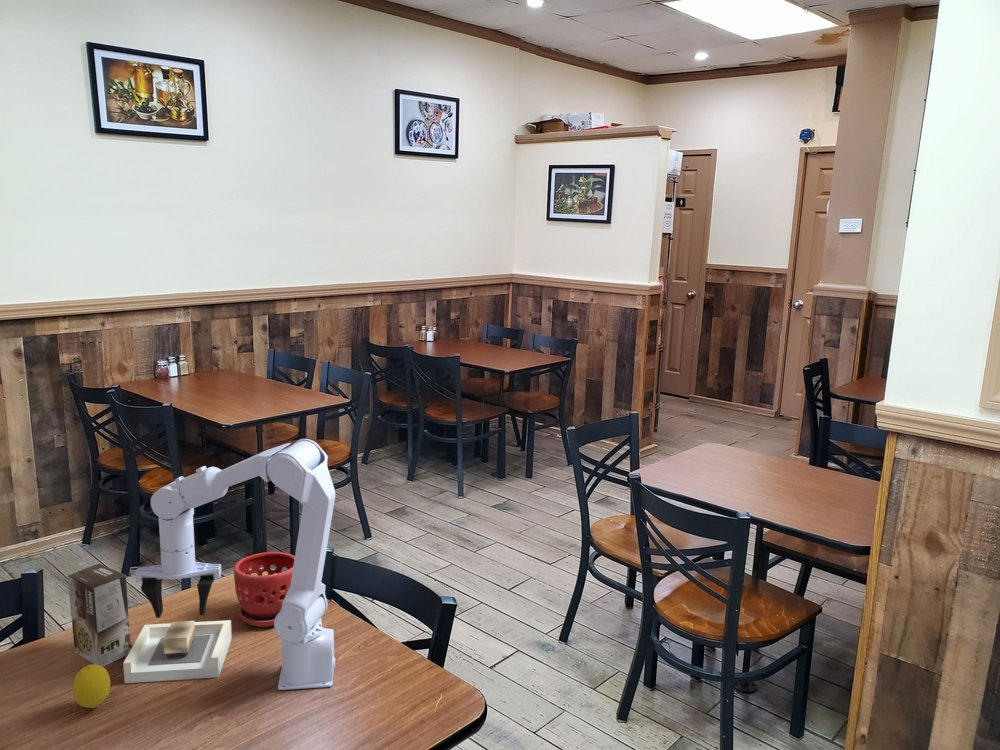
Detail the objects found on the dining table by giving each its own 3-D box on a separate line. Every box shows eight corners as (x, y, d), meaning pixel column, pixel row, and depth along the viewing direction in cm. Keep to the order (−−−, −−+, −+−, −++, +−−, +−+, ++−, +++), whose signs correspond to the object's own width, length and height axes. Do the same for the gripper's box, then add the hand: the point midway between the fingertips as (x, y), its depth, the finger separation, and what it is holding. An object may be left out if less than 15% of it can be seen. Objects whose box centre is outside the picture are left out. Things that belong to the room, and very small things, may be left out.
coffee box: (133, 653, 142) (127, 574, 139) (99, 669, 136) (93, 588, 133) (105, 637, 147) (100, 561, 143) (72, 652, 141) (66, 574, 138)
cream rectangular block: (195, 640, 143) (194, 620, 142) (187, 658, 137) (186, 637, 136) (173, 641, 142) (172, 621, 141) (164, 659, 136) (163, 638, 135)
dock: (231, 638, 148) (230, 620, 147) (218, 677, 135) (217, 657, 135) (145, 643, 145) (144, 624, 144) (124, 683, 133) (123, 663, 132)
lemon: (103, 693, 130) (100, 651, 128) (117, 707, 126) (114, 664, 125) (69, 708, 125) (65, 665, 124) (83, 722, 122) (79, 679, 120)
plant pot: (312, 615, 158) (312, 562, 155) (257, 639, 148) (255, 583, 146) (278, 594, 166) (277, 543, 164) (223, 615, 156) (221, 562, 154)
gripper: (223, 535, 141) (225, 601, 144) (141, 538, 139) (146, 605, 141) (215, 551, 134) (218, 619, 137) (130, 554, 132) (134, 624, 134)
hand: (181, 613), depth 139 cm, fingers open, 7 cm apart
